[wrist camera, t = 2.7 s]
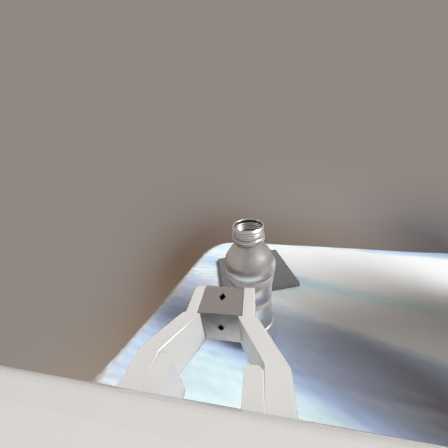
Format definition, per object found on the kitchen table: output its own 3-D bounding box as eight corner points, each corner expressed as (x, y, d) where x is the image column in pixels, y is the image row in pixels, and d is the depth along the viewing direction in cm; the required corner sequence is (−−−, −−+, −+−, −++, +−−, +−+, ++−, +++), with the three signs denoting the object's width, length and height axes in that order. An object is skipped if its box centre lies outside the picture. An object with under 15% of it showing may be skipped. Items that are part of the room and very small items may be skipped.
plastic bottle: (281, 352, 26) (286, 234, 18) (236, 357, 26) (220, 241, 18) (269, 313, 32) (269, 211, 24) (232, 318, 32) (219, 217, 24)
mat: (275, 252, 49) (275, 249, 49) (299, 285, 37) (299, 282, 37) (218, 261, 48) (218, 259, 48) (224, 299, 36) (224, 296, 36)
